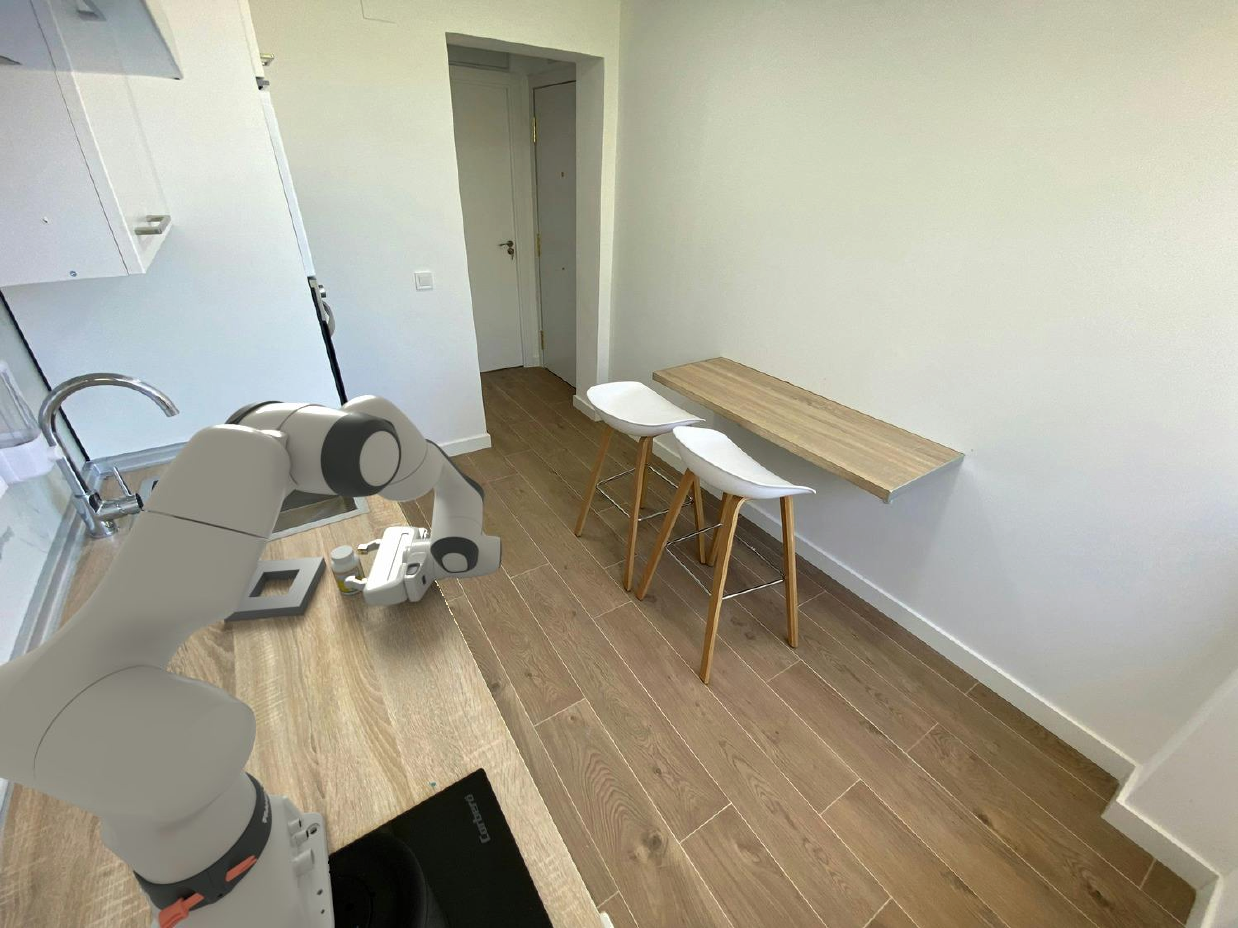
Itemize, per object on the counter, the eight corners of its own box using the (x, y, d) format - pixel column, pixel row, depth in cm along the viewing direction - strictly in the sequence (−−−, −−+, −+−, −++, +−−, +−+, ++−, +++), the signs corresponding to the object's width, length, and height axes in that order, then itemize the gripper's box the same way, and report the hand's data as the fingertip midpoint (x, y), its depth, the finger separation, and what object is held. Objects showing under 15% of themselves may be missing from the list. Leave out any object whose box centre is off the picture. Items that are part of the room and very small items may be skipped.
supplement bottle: (359, 596, 104) (347, 562, 98) (334, 594, 104) (320, 560, 98) (371, 577, 108) (361, 543, 103) (347, 575, 108) (335, 542, 103)
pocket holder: (326, 564, 111) (323, 556, 109) (303, 614, 99) (299, 606, 98) (256, 570, 109) (252, 561, 107) (224, 621, 97) (219, 613, 96)
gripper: (428, 517, 112) (362, 521, 110) (411, 584, 95) (332, 591, 93) (433, 538, 115) (369, 543, 113) (416, 607, 98) (341, 614, 96)
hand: (352, 565), depth 103 cm, fingers open, 8 cm apart
